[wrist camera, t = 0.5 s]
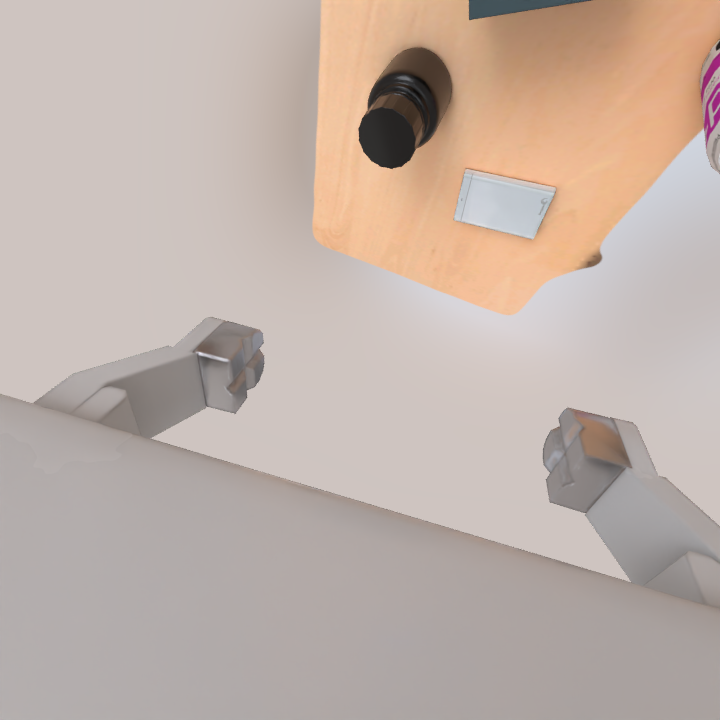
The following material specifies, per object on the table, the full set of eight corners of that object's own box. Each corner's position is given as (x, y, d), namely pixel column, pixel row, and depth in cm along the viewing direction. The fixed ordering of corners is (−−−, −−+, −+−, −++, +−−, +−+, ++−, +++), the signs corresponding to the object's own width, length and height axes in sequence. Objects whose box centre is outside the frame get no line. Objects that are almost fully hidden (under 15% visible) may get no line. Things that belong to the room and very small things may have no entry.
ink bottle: (369, 73, 50) (332, 122, 44) (425, 23, 44) (390, 73, 38) (411, 139, 55) (383, 191, 49) (467, 103, 49) (442, 158, 43)
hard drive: (555, 193, 52) (463, 174, 55) (532, 240, 59) (452, 221, 62) (556, 186, 53) (466, 167, 55) (534, 233, 60) (455, 215, 63)
